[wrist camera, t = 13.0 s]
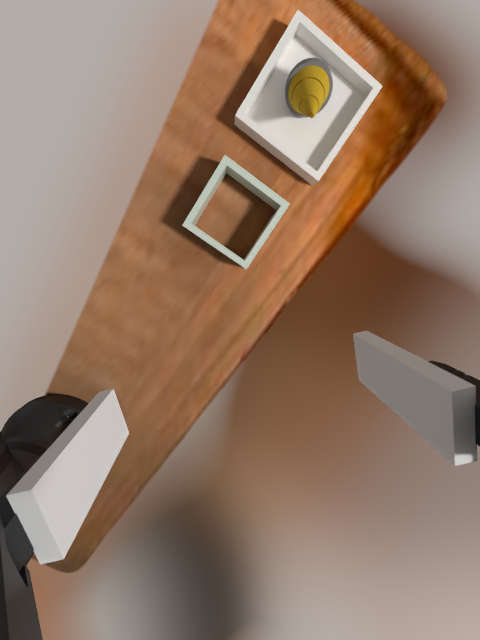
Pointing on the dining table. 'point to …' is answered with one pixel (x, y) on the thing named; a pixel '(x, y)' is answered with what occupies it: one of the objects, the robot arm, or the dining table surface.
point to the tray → (304, 132)
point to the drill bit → (308, 87)
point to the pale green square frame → (251, 184)
